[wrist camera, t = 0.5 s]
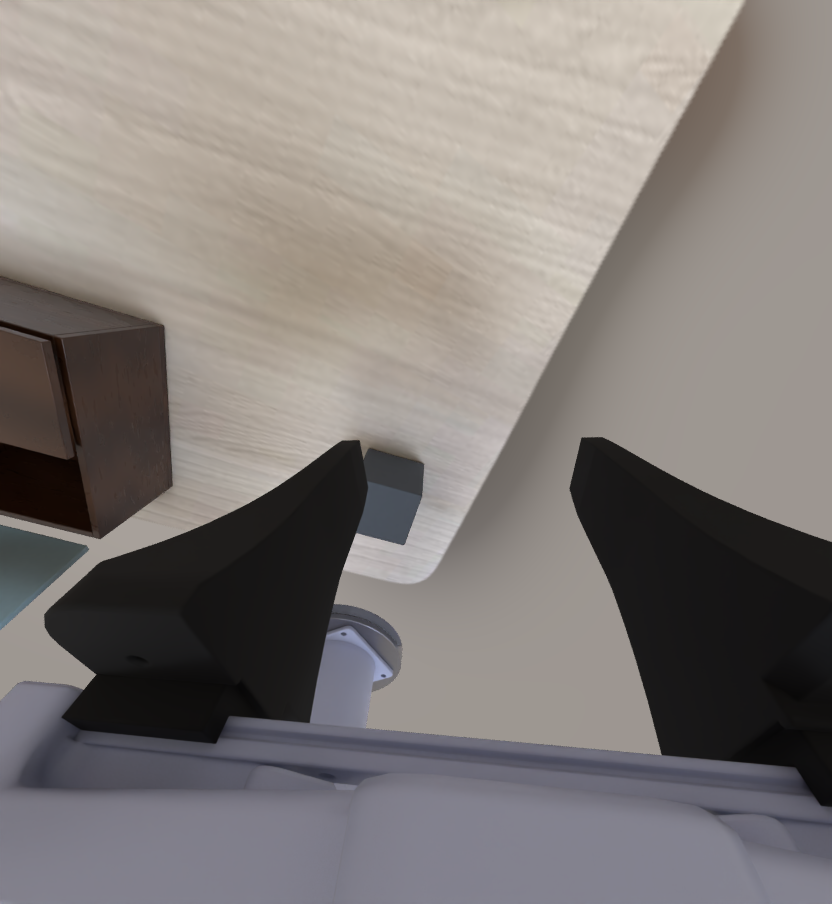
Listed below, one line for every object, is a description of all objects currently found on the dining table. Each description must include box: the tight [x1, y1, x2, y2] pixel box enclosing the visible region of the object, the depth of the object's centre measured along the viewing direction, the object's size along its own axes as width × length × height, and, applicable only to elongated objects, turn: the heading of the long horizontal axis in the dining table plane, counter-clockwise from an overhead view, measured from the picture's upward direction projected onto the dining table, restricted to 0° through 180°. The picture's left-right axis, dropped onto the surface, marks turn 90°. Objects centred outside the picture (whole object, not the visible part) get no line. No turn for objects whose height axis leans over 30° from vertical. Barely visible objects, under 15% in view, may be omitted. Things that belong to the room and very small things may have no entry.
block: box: [356, 449, 424, 545], centre depth 21 cm, size 4×4×4 cm
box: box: [0, 277, 172, 539], centre depth 18 cm, size 12×11×7 cm
